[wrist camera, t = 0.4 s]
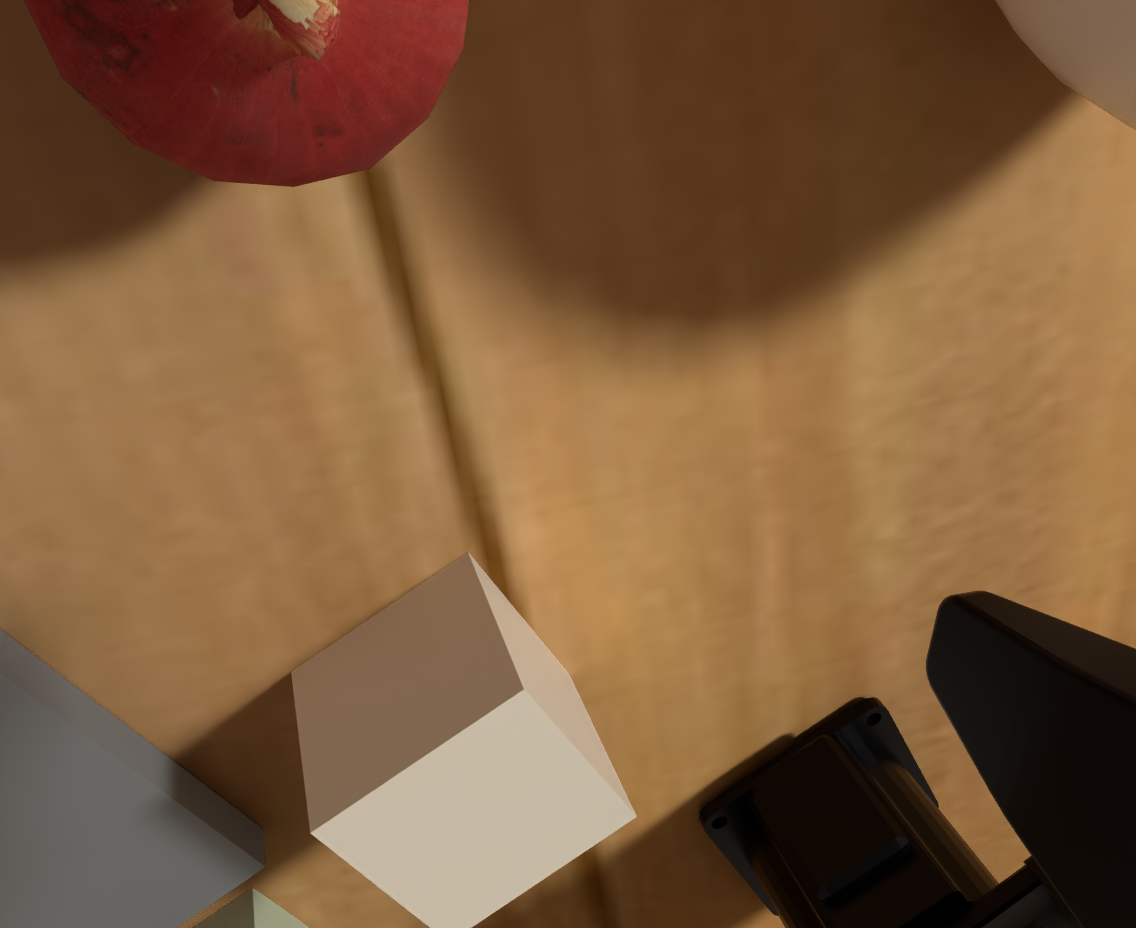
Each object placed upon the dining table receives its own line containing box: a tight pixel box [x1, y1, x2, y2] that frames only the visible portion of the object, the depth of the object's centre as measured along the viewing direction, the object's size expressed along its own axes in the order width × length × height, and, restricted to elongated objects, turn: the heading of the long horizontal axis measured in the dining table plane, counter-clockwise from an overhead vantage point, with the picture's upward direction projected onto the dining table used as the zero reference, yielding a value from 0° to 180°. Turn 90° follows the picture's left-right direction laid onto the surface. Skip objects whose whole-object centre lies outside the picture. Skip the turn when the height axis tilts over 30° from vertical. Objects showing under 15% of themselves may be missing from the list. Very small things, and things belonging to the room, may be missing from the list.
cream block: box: [291, 552, 637, 928], centre depth 23 cm, size 5×5×5 cm
